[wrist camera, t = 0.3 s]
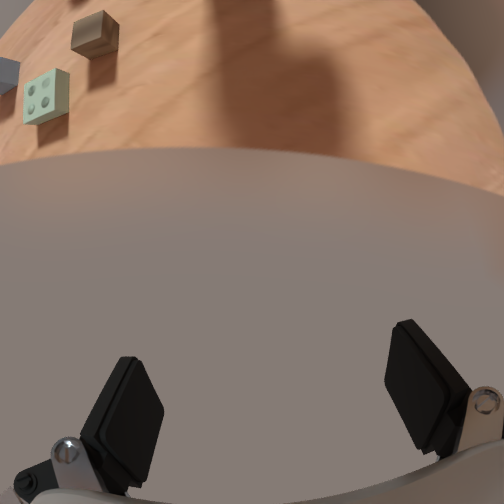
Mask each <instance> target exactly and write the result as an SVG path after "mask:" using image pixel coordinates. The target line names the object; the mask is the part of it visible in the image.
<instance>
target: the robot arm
mask: <svg viewBox="0 0 504 504" xmlns="http://www.w3.org/2000/svg"><path fill="white" fill-rule="evenodd" d="M384 380H385V381H384V382H385V386H386V388H387V390H388V392H389V394H390V396H391V398H392V400H393V402H394V404H395V406H396V408H397V410H398V412H399V414H400V416H401V418H402V420H403V422H404V424H405V426H406V428H407V430H408V432H409V434H410V436H411V438H412V440H413V442H414V444H415V446H416V448H417V449H419V450H420V449H421V450H422V452H423V455H425V454H427V453H430V452H432V451H434V450H435V452H436V454H437V455H438V456H437V459H436V462H435V463H433V464H431V465H429V466H426V467H424V468H421V469H419V470H416V471H414V472H411V473H408V474H406V475H403V476H400V477H397V478H394V479H392V480H389V481H386V482H383V483H379V484H376V485H373V486H370V487H366V488H362V489H359V490H355V491H351V492H347V493H343V494H339V495H334V496H329V497H324V498H319V499H313V500H307V501H300V502H294V503H285V504H504V398H503V396H502V394H501V393H500V392H499V391H498V390H497V389H495V388H493V387H489V386H482V387H478V388H476V389H475V390H473V391H472V390H471V388H469V386H468V385H467V383H466V382H465V381H464V379H463V378H462V377H461V376H460V374H459V373H458V372H457V371H456V369H455V368H454V367H453V366H452V364H451V363H450V362H449V361H448V360H447V358H446V357H445V356H444V355H443V354H442V353H441V351H440V350H439V349H438V348H437V347H436V345H435V344H434V343H433V342H432V341H431V340H430V338H429V337H428V336H427V335H426V334H425V333H424V331H423V330H422V329H421V328H420V327H419V326H418V325H417V324H416V323H415V321H414V320H412V319H409V320H405V321H401V322H398V323H397V325H396V327H394V328H393V330H392V337H391V345H390V350H389V357H388V362H387V368H386V373H385V379H384ZM163 417H164V408H163V405H162V403H161V401H160V399H159V397H158V395H157V393H156V391H155V389H154V387H153V385H152V383H151V381H150V379H149V377H148V374H147V372H146V371H145V368H144V365H143V363H142V361H140V360H138V359H137V358H136V357H121V358H120V359H119V361H118V362H117V364H116V366H115V368H114V370H113V371H112V373H111V375H110V377H109V379H108V380H107V382H106V384H105V386H104V388H103V390H102V392H101V394H100V395H99V397H98V399H97V401H96V403H95V405H94V407H93V409H92V411H91V413H90V415H89V416H88V418H87V420H86V423H85V424H84V427H83V429H82V430H81V433H80V435H81V436H80V439H77V438H75V437H64V438H62V439H60V440H58V441H57V442H56V443H55V444H54V446H53V447H52V449H51V459H49V460H47V461H44V462H42V463H40V464H37V465H35V466H33V467H30V468H28V469H25V470H23V471H21V472H19V473H18V475H17V476H16V478H15V480H14V489H13V488H12V487H9V488H8V489H7V490H5V491H4V492H3V493H2V494H0V504H170V503H162V502H155V501H148V500H141V499H135V498H131V497H130V495H129V494H128V492H127V490H128V487H129V486H131V487H136V488H141V487H142V483H143V482H145V481H146V480H147V477H148V473H149V469H150V464H151V461H152V457H153V454H154V449H155V446H156V442H157V438H158V435H159V431H160V427H161V424H162V420H163Z"/></svg>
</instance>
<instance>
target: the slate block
mask: <svg viewBox="0 0 504 504" xmlns="http://www.w3.org/2000/svg"><path fill="white" fill-rule="evenodd" d="M19 69H20V62H17V61H14V60H10V59H7V58H3V57H0V95H3V94H4V93H6V92H8V91H9V90H11V89H12V88H14V87H16V86H17V85H18V78H19Z"/></svg>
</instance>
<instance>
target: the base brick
mask: <svg viewBox="0 0 504 504" xmlns="http://www.w3.org/2000/svg"><path fill="white" fill-rule="evenodd" d="M66 113H69V73H68V72H65V71H62V70H60V69H57V68H55V69H53V70H51V71H49V72H47V73H45V74H43V75H41V76H39V77H37V78H35V79H33V80H32V81H30V82H28V83H26V84H25V86H24V108H23V124H29V125H39V124H42V123H44V122H46V121H49V120H51V119H53V118H56V117H58V116H61V115H63V114H66Z"/></svg>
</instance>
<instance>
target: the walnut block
mask: <svg viewBox="0 0 504 504" xmlns="http://www.w3.org/2000/svg"><path fill="white" fill-rule="evenodd" d="M118 41H119V24H118V23H117V22H116V21H115V20H114V19H113V18H112V17H111V16H110V15H108V14H107V13H106V12H105V11H104V10H102V11H100V12H97V13H95V14H92V15H90V16H87V17H85V18H83V19H80V20H78V21H76V22H74V25H73V32H72V40H71V50H73V51H74V52H76V53H78V54H80V55H82V56H84V57H86V58H88V59H90V60H91V59H94V58H96V57H99V56H102V55H105V54H108V53H111V52H114V51H117V50H118Z"/></svg>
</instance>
